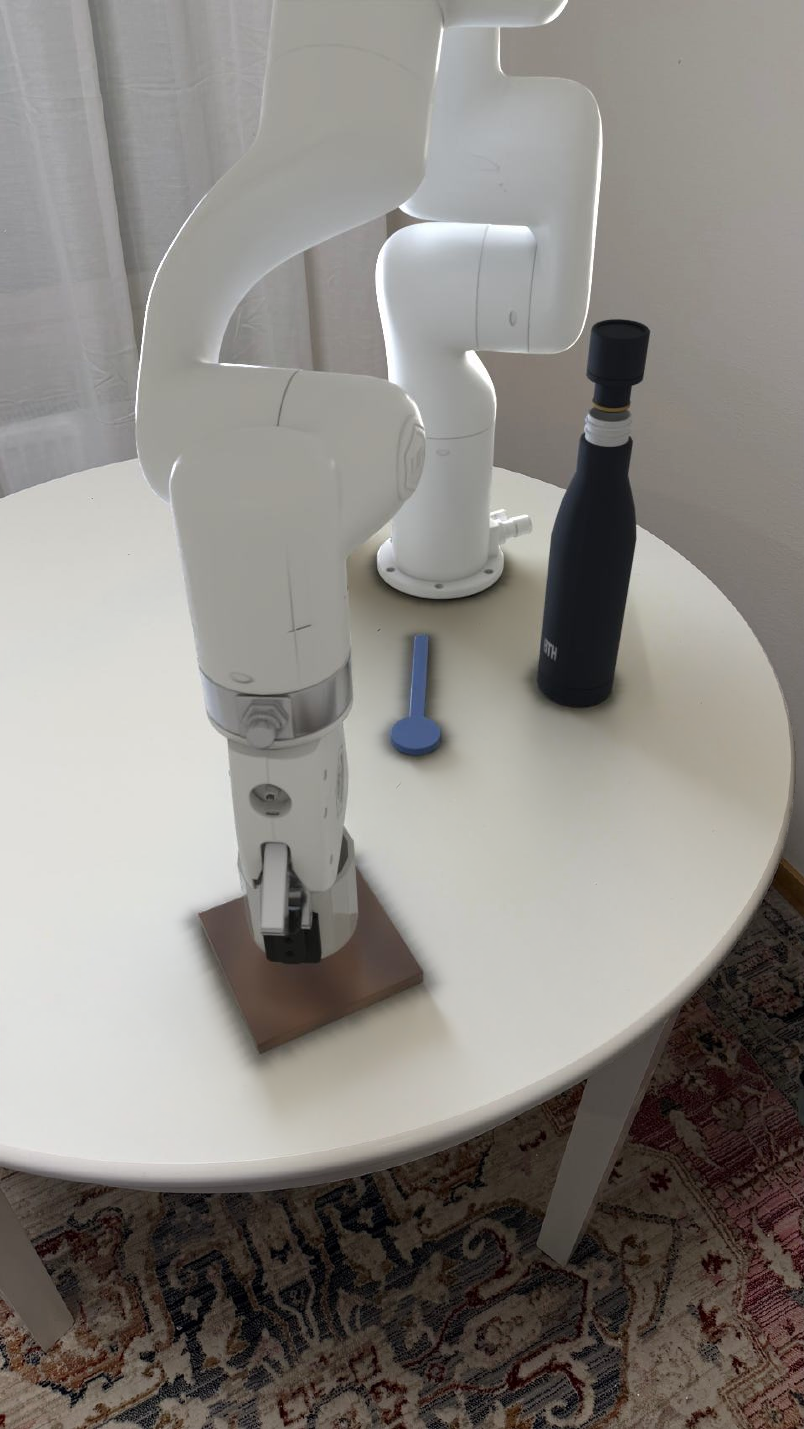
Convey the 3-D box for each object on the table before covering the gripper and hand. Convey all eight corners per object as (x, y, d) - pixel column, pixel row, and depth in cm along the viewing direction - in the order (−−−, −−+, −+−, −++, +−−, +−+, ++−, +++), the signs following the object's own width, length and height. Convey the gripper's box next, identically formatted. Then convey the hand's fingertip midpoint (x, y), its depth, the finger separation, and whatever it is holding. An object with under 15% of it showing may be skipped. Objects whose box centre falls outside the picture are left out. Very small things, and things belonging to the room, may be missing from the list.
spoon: (399, 639, 91) (399, 633, 91) (443, 640, 91) (444, 634, 90) (389, 754, 79) (389, 748, 79) (440, 756, 79) (440, 749, 79)
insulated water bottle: (621, 672, 87) (680, 319, 68) (600, 716, 83) (656, 352, 63) (550, 654, 89) (588, 307, 70) (526, 695, 85) (559, 337, 65)
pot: (331, 862, 66) (326, 796, 62) (376, 936, 61) (373, 870, 58) (233, 899, 64) (221, 834, 60) (272, 979, 59) (262, 914, 55)
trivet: (350, 863, 71) (349, 854, 70) (423, 981, 63) (423, 971, 62) (199, 921, 67) (197, 912, 66) (259, 1054, 59) (257, 1045, 59)
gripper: (334, 803, 44) (351, 1034, 55) (365, 586, 57) (373, 808, 68) (163, 798, 44) (215, 1028, 55) (234, 583, 57) (264, 805, 69)
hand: (302, 905), depth 62 cm, fingers closed on pot, 7 cm apart
